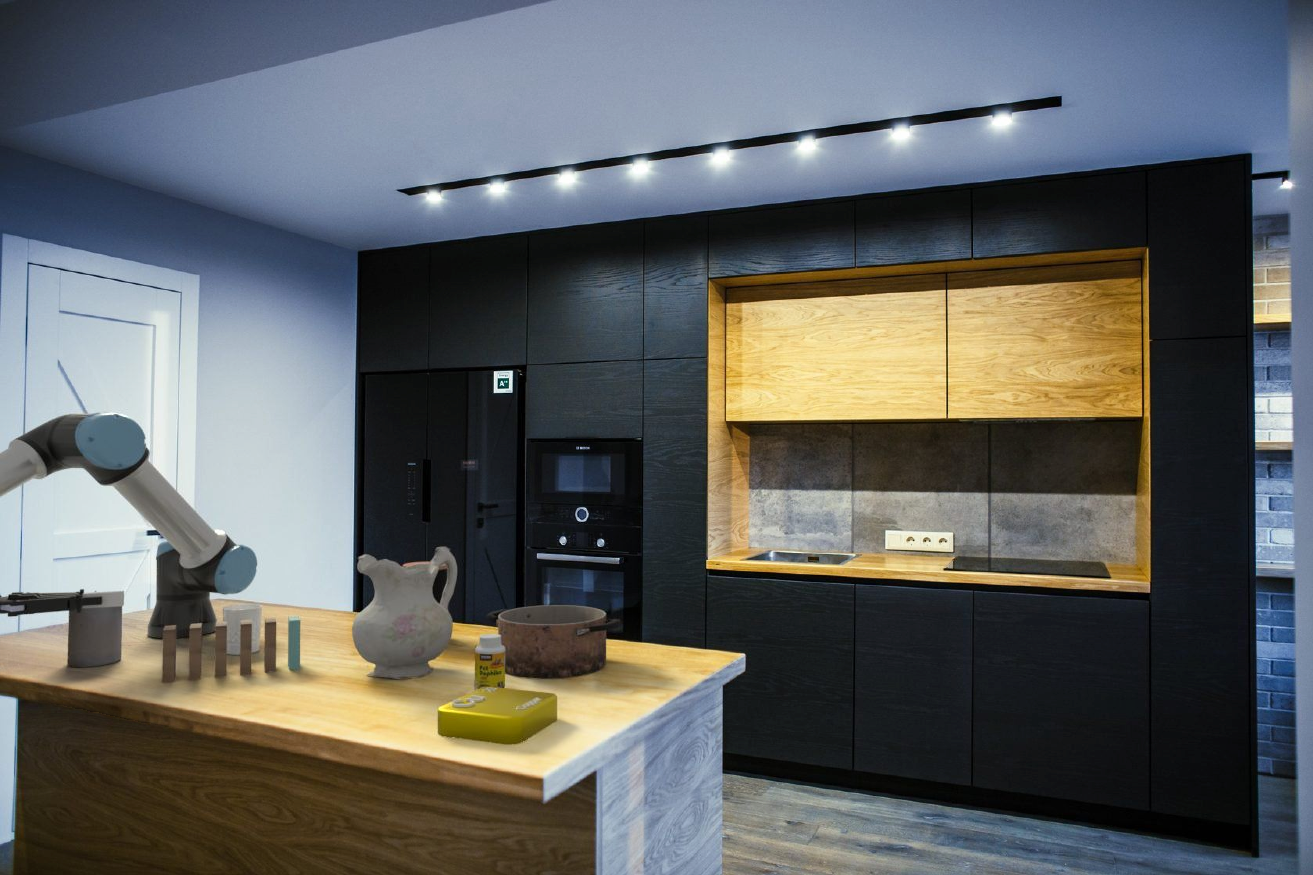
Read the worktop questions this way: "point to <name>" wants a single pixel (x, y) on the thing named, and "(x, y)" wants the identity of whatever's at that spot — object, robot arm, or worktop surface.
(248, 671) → the domino
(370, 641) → the ceramic pitcher
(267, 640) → the domino
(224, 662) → the domino
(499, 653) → the supplement bottle
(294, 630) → the domino
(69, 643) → the pillar candle
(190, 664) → the domino
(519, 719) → the element tile
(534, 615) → the cooking pot
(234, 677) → the worktop surface
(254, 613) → the white cup
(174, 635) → the domino
